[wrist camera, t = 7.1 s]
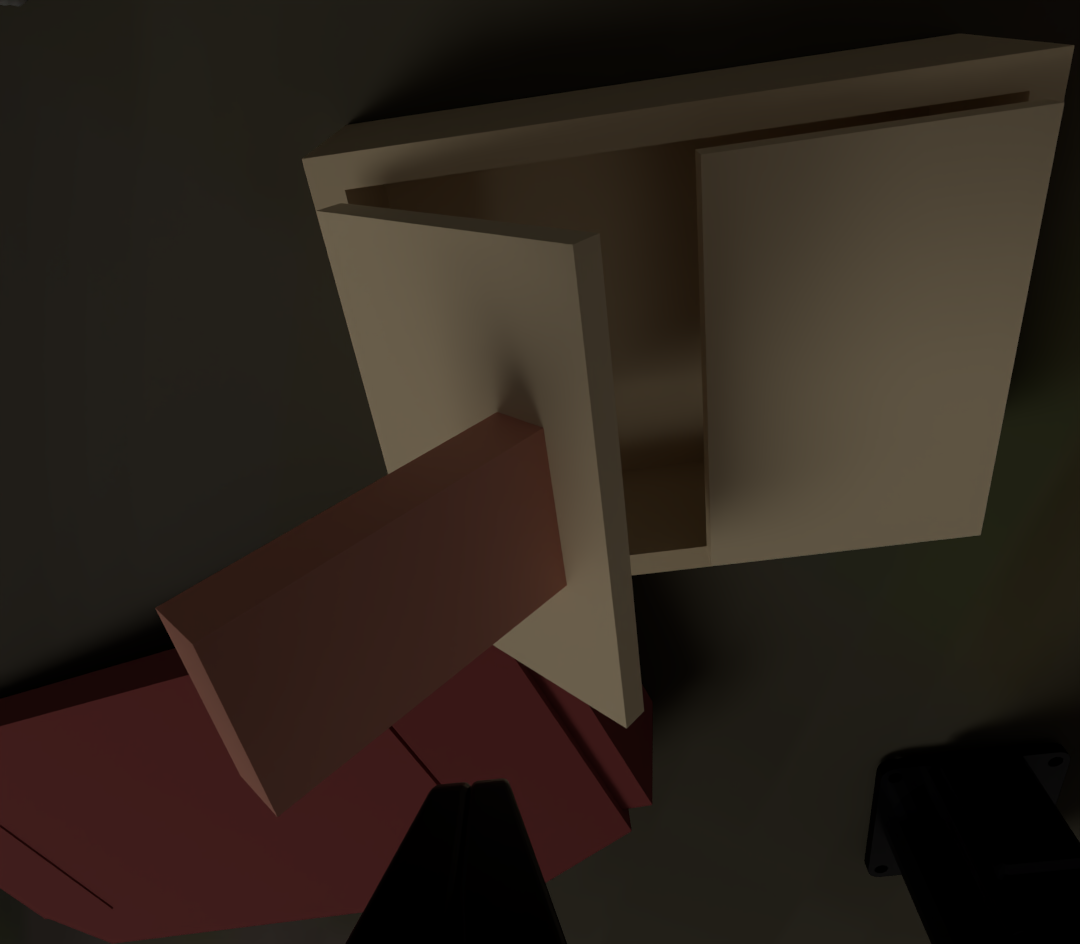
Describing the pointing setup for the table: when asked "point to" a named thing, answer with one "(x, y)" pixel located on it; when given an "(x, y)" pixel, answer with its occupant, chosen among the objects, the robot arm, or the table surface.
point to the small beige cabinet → (658, 208)
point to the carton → (303, 829)
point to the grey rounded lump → (12, 2)
